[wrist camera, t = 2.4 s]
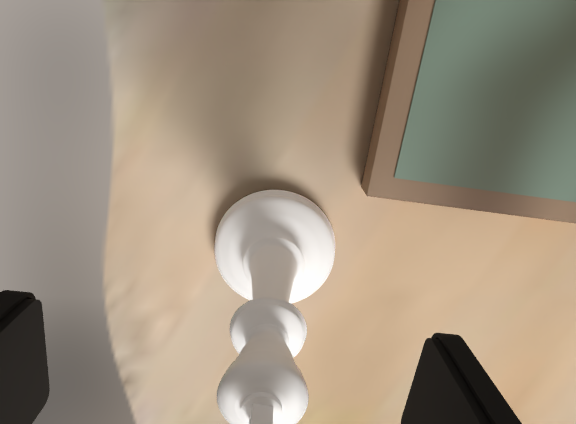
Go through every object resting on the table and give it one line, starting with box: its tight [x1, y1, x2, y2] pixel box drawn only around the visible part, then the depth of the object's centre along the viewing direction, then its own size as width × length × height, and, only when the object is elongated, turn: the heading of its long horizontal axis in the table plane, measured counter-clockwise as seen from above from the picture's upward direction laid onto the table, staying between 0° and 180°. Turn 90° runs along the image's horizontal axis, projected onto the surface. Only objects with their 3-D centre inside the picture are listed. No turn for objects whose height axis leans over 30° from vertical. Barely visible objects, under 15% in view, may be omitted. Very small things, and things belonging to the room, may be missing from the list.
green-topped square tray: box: [361, 0, 576, 223], centre depth 13 cm, size 10×10×1 cm
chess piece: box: [215, 190, 335, 424], centre depth 11 cm, size 5×5×10 cm
